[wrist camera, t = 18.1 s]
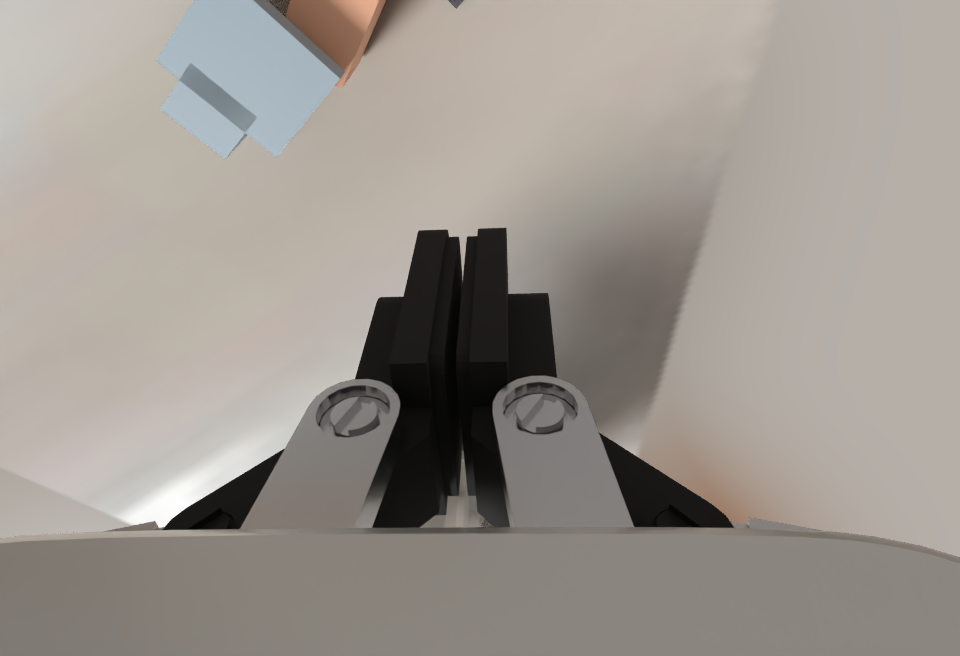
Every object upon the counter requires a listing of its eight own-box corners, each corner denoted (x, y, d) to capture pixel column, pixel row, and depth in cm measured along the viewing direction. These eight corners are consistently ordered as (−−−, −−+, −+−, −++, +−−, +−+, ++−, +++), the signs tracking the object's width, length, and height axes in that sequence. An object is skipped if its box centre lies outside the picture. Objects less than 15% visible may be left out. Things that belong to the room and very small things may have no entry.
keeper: (366, 41, 30) (340, 78, 25) (292, 133, 32) (255, 182, 27) (265, -54, 27) (215, -34, 23) (195, 53, 30) (136, 91, 25)
